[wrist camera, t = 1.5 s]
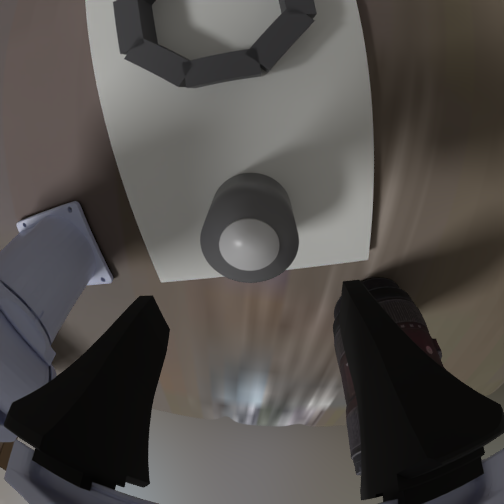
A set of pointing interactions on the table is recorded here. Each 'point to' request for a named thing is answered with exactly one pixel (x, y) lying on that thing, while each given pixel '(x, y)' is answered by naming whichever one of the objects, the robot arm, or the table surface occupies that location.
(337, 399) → the table surface
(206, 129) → the board
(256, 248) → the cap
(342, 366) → the camera lens
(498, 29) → the table surface
